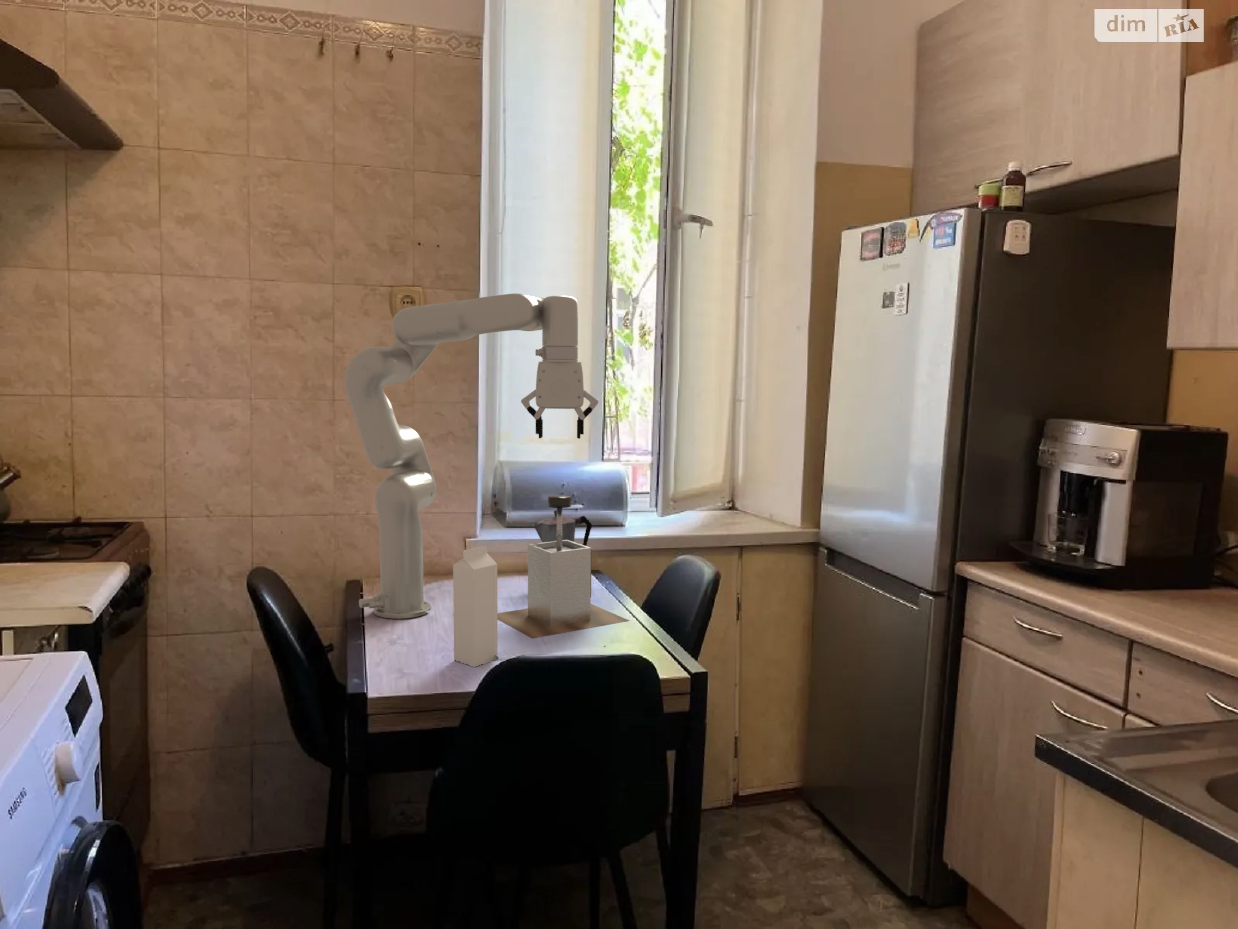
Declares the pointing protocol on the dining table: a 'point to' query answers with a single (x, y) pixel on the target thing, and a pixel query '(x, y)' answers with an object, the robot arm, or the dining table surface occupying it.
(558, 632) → the walnut board
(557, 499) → the plunger
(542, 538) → the moka pot
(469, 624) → the milk
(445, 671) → the dining table surface
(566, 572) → the open box
